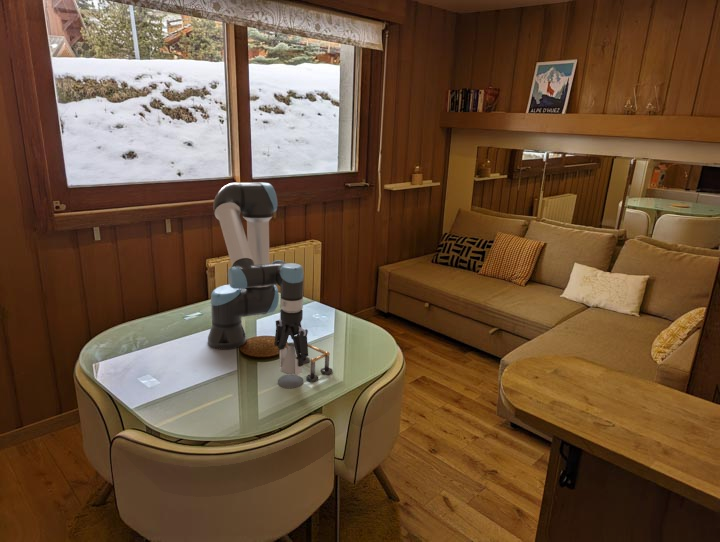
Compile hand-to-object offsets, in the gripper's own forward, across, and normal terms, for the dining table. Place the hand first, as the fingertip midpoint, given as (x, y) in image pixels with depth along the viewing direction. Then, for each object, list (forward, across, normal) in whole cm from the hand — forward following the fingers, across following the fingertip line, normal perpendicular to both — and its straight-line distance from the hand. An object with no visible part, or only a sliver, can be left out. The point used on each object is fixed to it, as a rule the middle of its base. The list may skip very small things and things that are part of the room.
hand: (290, 369), depth 175 cm
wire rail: (+5, -2, +11) cm, 12 cm away
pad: (+5, 0, 0) cm, 5 cm away
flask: (0, 0, 0) cm, 0 cm away
